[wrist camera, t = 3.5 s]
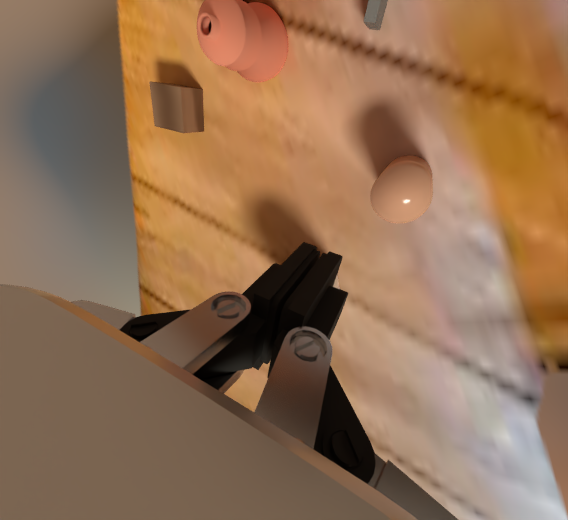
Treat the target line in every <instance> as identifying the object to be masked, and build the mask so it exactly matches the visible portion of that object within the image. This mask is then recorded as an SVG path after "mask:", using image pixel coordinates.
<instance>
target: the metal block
mask: <svg viewBox="0 0 568 520" xmlns="http://www.w3.org/2000/svg"><path fill="white" fill-rule="evenodd" d="M150 89H151V98H152V106H153V115H154V123H155V126H157V127H161V128H165V129H169V130H173V131H177V132H181V133H192V132H203V131H204V116H203V89H198V88H193V87H187V86H181V85H176V84H168V83H158V82H150Z"/></svg>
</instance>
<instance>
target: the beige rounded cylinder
mask: <svg viewBox="0 0 568 520" xmlns="http://www.w3.org/2000/svg"><path fill="white" fill-rule="evenodd" d="M432 195H433V184H432V170H431V168H430V166H429V164H428V163H427V162H426V161H425V160H423V159H422V158H420V157H417V156H412V155H408V156H402V157H399V158H397V159H395V160H394V161H392V162H391V163H390V164H389V165H388V166H387V167H386V169H385V170H384V171H383V172H382V173H381V175H380V176H379V177H378V178H377V180H376V181H375V183H374V185H373V187H372V190H371V195H370V199H371V204H372V207H373V209H374V211H375V212H376V213H377V215H378V216H380V217H381V218H382V219H384V220H386V221H388V222H392V223H407V222H410V221H413V220H415V219H417V218H418V217H420V216H421V215H422V214H423V213H424V212H425V211H426V210H427V209H428V207H429V205H430V203H431V200H432Z"/></svg>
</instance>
